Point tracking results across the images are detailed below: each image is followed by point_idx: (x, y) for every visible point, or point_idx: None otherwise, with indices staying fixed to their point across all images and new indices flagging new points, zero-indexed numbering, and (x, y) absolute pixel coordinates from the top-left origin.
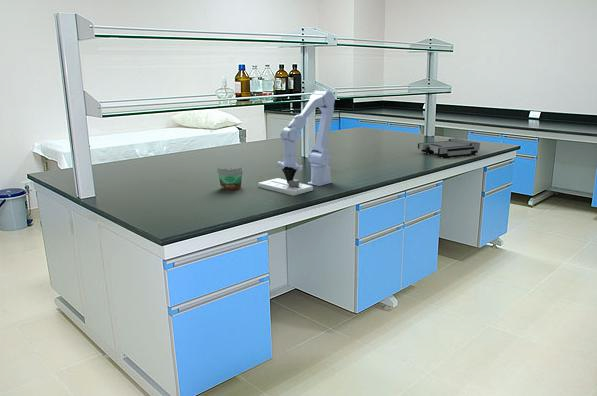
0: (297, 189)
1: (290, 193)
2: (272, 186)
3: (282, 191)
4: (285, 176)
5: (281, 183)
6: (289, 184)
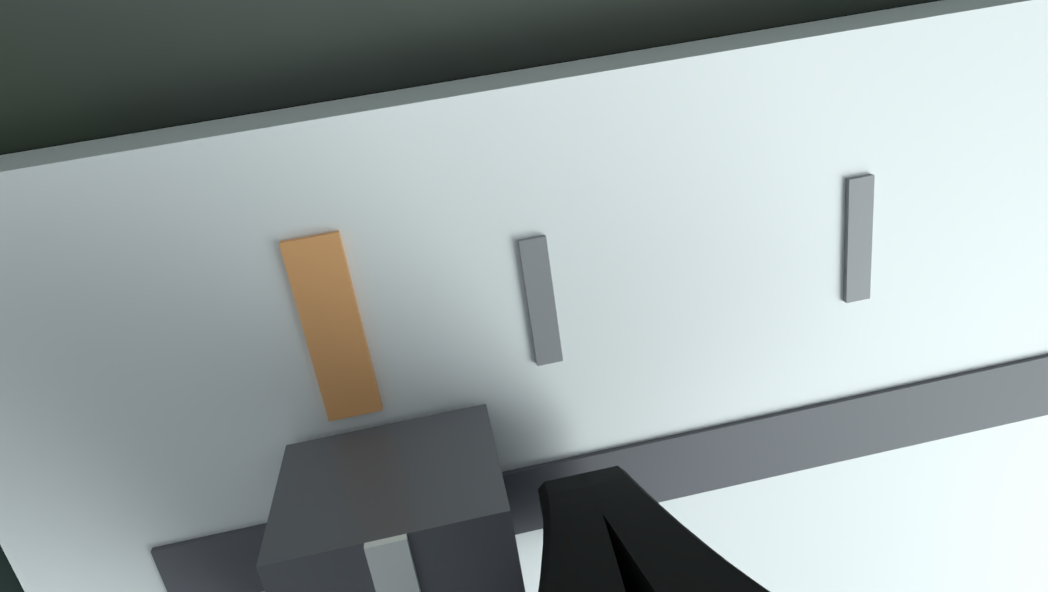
0: (24, 434)
1: (33, 154)
2: (848, 30)
3: (390, 96)
4: (753, 585)
5: (870, 417)
6: (453, 446)
